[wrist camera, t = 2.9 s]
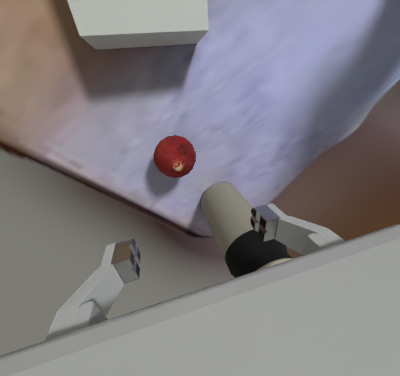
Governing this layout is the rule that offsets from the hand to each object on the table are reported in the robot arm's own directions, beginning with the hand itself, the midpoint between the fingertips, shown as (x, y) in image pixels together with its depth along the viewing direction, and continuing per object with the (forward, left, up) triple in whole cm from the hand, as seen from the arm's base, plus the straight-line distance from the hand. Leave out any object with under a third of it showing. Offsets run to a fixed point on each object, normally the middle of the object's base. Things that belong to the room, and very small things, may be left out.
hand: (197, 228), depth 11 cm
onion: (0, -1, -18) cm, 18 cm away
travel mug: (-11, +8, -18) cm, 23 cm away
